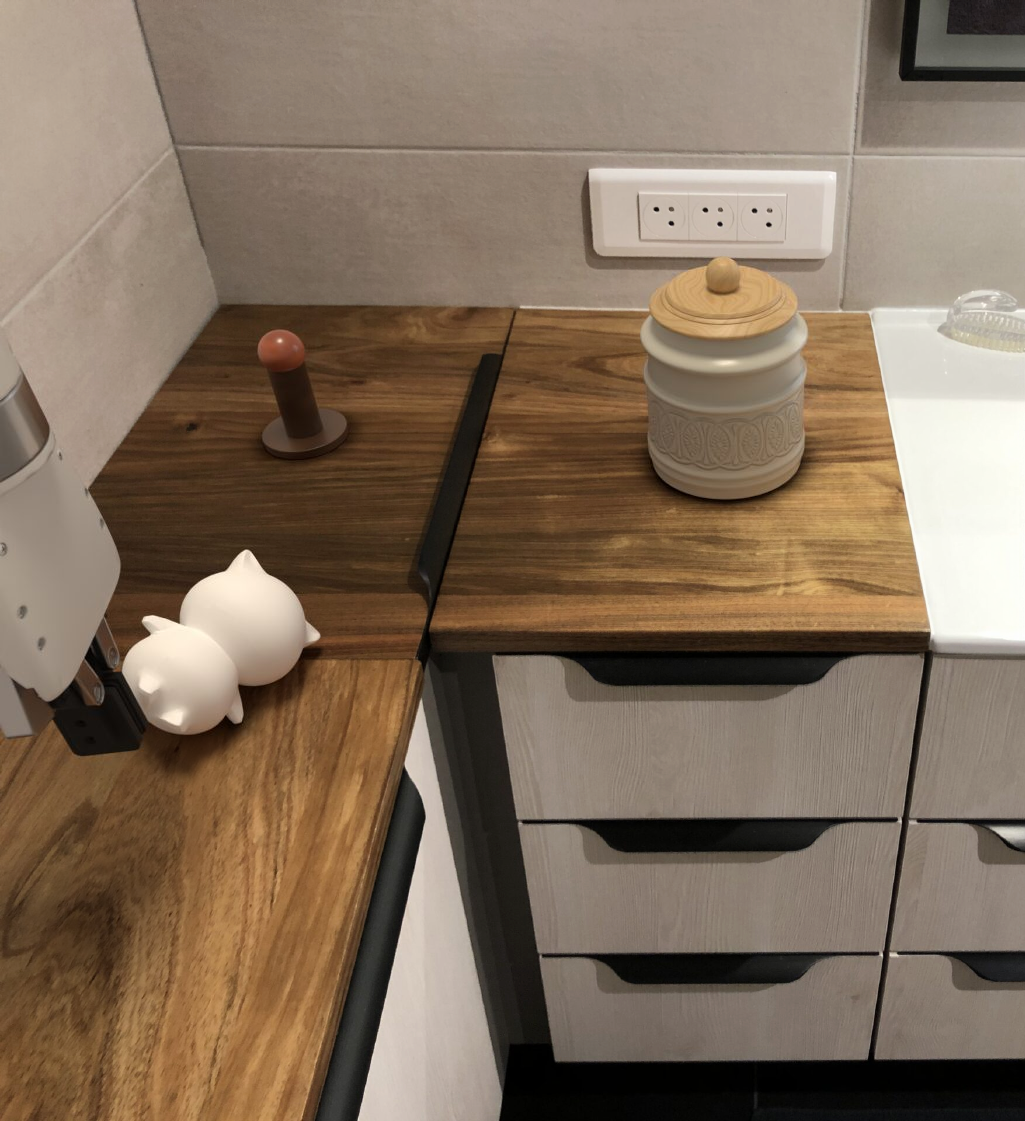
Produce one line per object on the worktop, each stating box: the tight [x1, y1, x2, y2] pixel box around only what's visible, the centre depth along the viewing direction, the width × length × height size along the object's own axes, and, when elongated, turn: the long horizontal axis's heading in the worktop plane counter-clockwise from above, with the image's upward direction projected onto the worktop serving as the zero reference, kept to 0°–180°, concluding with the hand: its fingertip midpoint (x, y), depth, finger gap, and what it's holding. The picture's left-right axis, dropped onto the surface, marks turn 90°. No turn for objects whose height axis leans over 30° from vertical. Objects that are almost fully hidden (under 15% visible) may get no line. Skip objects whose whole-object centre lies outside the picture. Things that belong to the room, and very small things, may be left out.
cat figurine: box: [121, 549, 321, 736], centre depth 72 cm, size 9×11×12 cm
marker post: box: [257, 329, 350, 460], centre depth 94 cm, size 7×7×10 cm
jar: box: [639, 256, 809, 500], centre depth 89 cm, size 13×13×18 cm
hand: (113, 740), depth 57 cm, fingers closed
